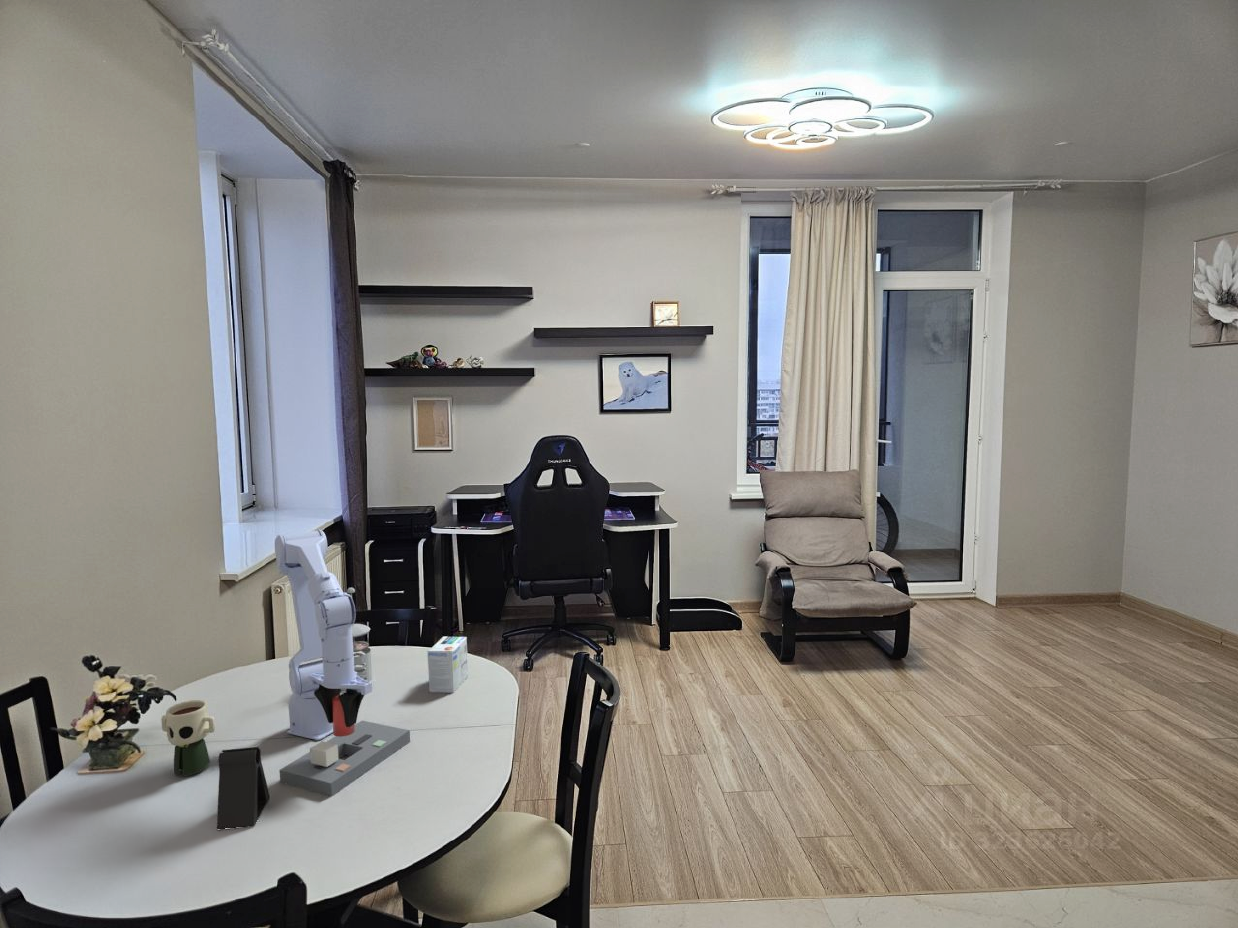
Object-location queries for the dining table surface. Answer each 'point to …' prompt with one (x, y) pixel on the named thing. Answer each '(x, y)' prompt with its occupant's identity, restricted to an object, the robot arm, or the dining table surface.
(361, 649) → the french press
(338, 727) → the pin
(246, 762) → the phone stand
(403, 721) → the dining table surface
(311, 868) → the dining table surface
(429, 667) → the light bulb box
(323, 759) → the lever
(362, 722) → the breaker panel
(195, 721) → the character mug
